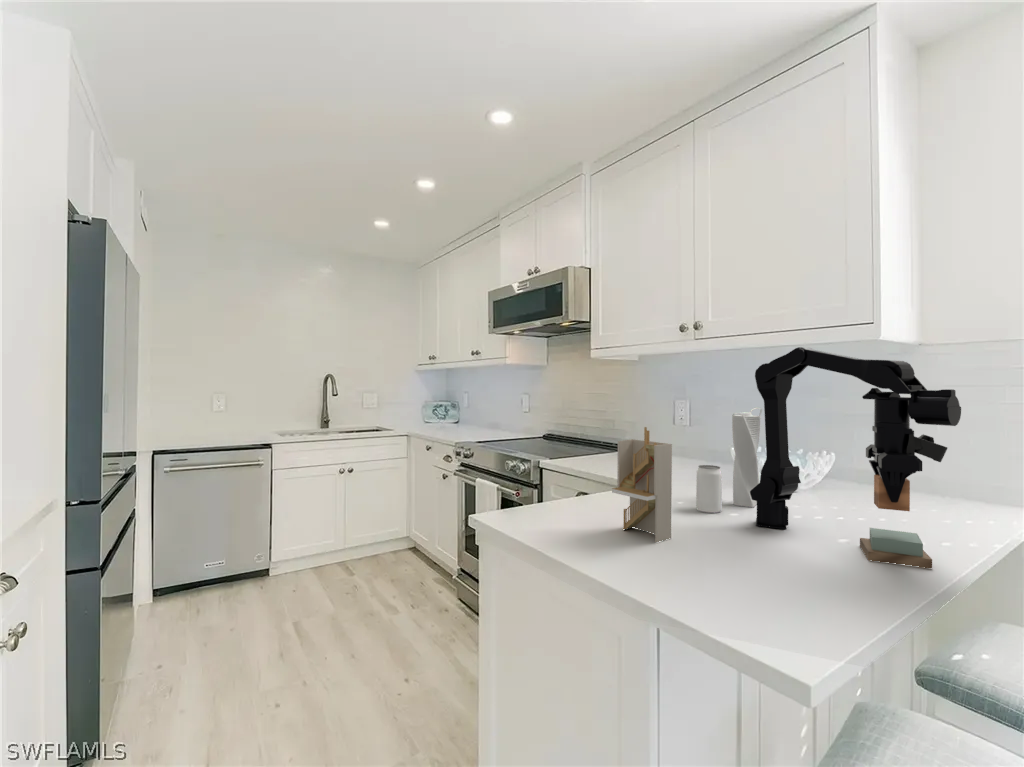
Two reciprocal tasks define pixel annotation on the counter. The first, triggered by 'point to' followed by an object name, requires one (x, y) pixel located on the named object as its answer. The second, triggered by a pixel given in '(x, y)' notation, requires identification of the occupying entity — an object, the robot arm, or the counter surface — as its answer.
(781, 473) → the robot arm
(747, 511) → the counter surface
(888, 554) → the tower base
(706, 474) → the can
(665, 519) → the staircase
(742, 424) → the skyscraper
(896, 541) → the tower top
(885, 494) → the block
